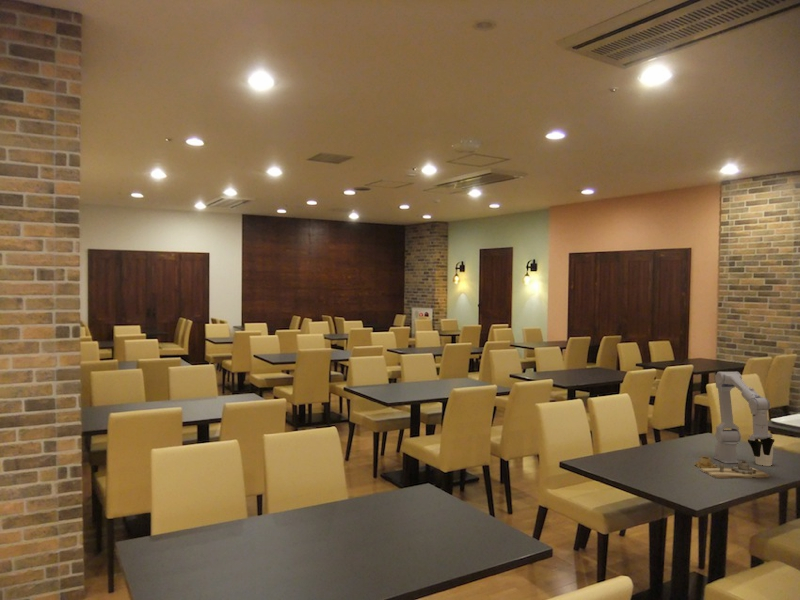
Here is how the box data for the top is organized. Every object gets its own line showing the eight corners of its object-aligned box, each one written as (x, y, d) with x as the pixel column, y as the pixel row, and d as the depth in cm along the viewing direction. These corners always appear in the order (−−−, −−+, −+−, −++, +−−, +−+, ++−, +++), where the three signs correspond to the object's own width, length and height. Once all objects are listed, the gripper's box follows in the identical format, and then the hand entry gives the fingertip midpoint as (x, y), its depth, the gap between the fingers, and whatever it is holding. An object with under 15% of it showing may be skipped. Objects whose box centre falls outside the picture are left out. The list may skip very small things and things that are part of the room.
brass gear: (690, 463, 281) (690, 455, 281) (708, 463, 282) (709, 454, 282) (702, 469, 271) (702, 461, 271) (721, 469, 272) (721, 460, 272)
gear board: (700, 470, 270) (700, 457, 270) (751, 469, 272) (751, 456, 272) (716, 478, 258) (716, 465, 258) (769, 477, 260) (769, 463, 260)
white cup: (770, 462, 282) (770, 442, 282) (775, 467, 275) (775, 446, 275) (752, 461, 285) (752, 441, 285) (756, 465, 278) (756, 444, 277)
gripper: (760, 426, 253) (761, 458, 252) (778, 424, 260) (780, 455, 259) (744, 425, 259) (745, 456, 258) (762, 423, 266) (764, 453, 265)
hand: (761, 455), depth 259 cm, fingers open, 7 cm apart
